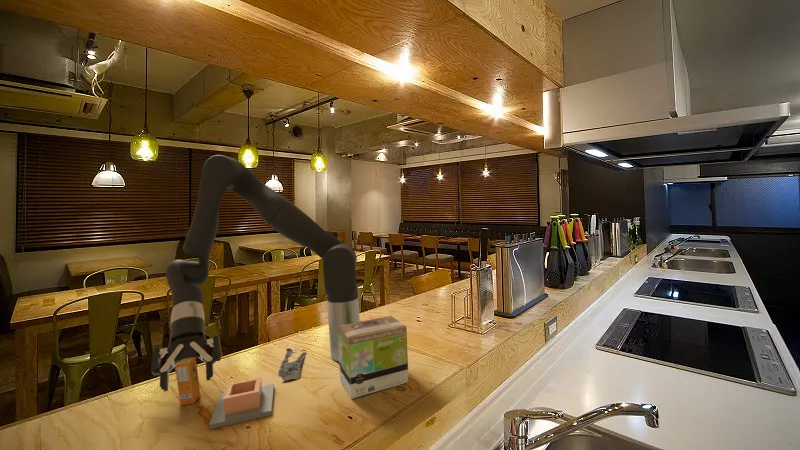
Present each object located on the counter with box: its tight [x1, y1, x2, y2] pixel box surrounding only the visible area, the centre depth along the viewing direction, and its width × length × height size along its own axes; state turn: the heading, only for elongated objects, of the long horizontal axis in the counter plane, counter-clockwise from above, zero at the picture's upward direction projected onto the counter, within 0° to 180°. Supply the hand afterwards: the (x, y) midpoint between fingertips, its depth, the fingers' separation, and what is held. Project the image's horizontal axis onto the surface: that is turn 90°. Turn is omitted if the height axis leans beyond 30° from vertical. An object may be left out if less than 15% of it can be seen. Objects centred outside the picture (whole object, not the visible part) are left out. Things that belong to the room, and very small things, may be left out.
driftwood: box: [278, 347, 306, 384], centre depth 95 cm, size 21×7×2 cm, turn 9°
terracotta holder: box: [223, 376, 263, 415], centre depth 75 cm, size 7×7×4 cm
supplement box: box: [174, 357, 201, 406], centre depth 79 cm, size 3×3×10 cm
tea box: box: [338, 315, 409, 400], centre depth 83 cm, size 15×10×15 cm, turn 115°
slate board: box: [208, 383, 275, 430], centre depth 75 cm, size 12×12×1 cm
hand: (187, 384), depth 78 cm, fingers open, 8 cm apart
